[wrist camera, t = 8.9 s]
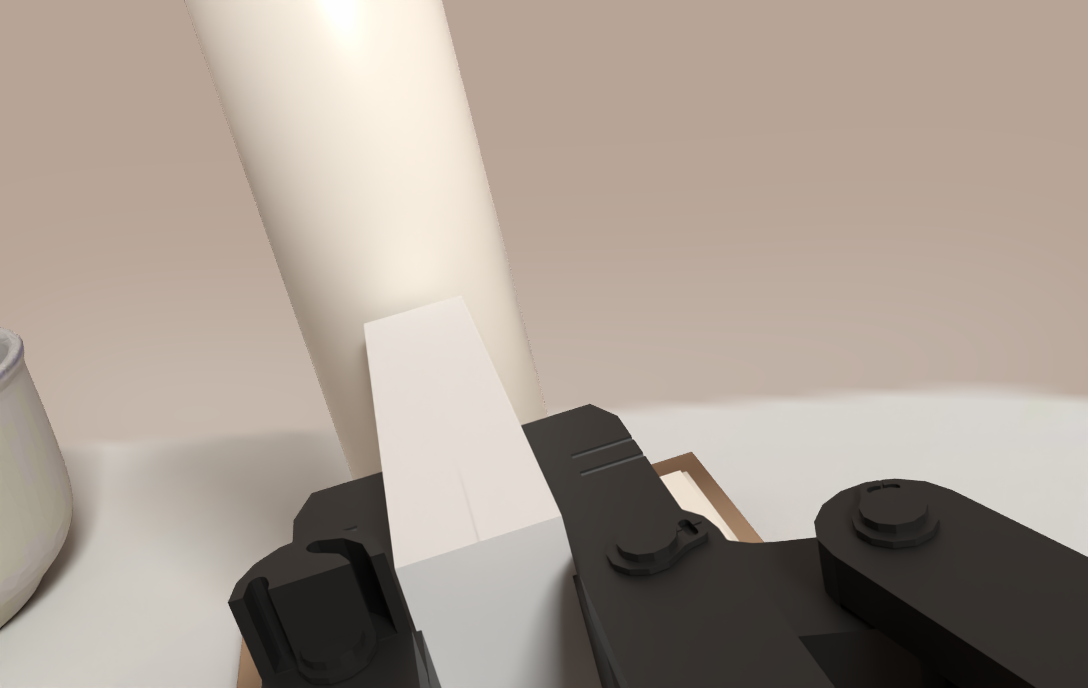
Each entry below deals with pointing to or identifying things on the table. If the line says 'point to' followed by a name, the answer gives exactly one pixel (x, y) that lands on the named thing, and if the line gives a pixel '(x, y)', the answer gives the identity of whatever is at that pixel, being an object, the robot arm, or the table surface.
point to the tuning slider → (369, 188)
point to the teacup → (27, 483)
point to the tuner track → (685, 463)
